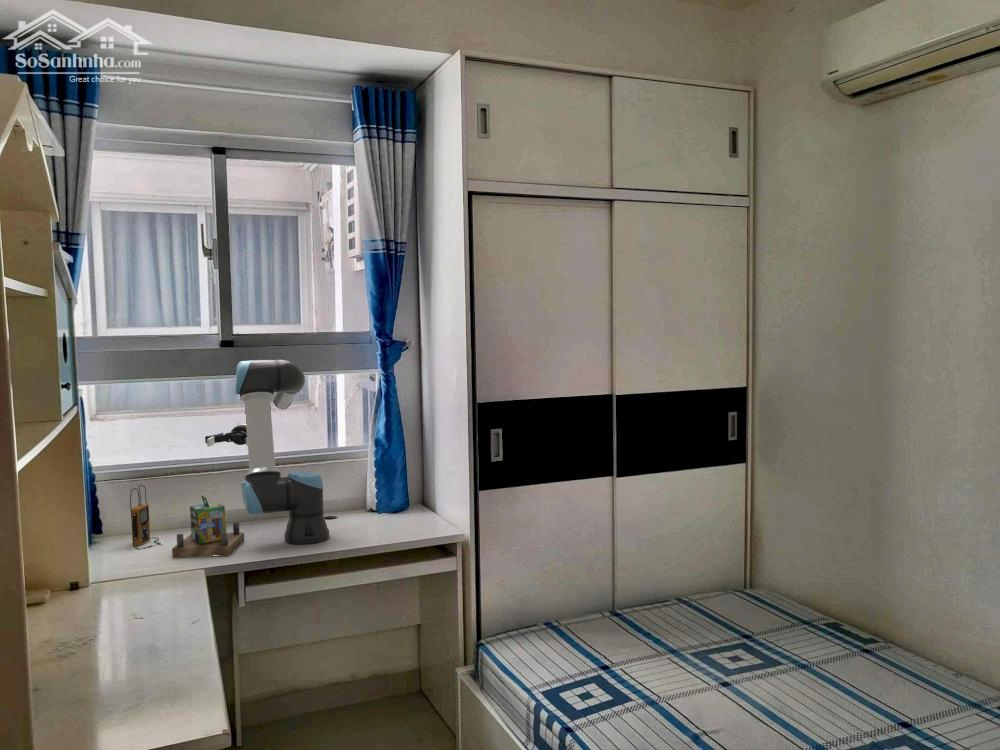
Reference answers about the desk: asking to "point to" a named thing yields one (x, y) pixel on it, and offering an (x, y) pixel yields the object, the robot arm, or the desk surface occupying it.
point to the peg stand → (209, 545)
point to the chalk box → (207, 522)
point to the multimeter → (140, 522)
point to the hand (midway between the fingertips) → (227, 442)
